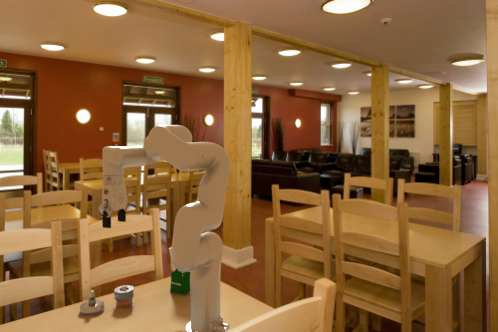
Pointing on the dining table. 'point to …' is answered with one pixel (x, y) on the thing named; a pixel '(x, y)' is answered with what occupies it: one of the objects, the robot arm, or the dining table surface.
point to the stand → (124, 303)
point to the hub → (92, 306)
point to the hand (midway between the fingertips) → (114, 224)
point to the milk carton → (179, 279)
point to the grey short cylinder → (124, 293)
